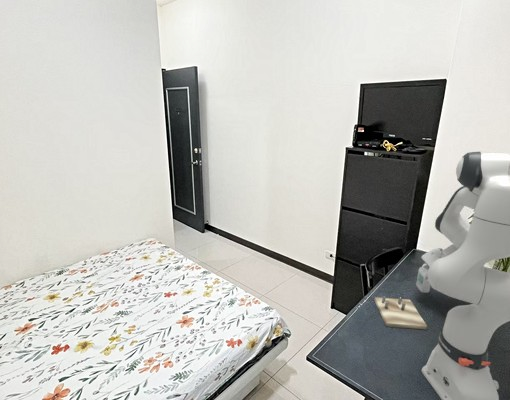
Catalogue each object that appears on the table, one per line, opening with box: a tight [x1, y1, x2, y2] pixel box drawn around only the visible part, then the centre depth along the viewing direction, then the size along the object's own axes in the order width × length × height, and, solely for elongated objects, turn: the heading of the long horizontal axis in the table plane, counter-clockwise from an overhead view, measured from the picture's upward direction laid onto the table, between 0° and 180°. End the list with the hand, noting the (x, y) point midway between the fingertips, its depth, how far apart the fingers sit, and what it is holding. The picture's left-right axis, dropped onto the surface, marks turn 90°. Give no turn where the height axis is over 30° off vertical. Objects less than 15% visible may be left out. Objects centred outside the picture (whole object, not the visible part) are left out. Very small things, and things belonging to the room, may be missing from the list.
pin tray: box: [373, 295, 428, 330], centre depth 119 cm, size 16×15×4 cm
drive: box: [415, 266, 431, 294], centre depth 124 cm, size 6×3×9 cm, turn 174°
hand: (423, 276), depth 124 cm, fingers closed on drive, 5 cm apart
